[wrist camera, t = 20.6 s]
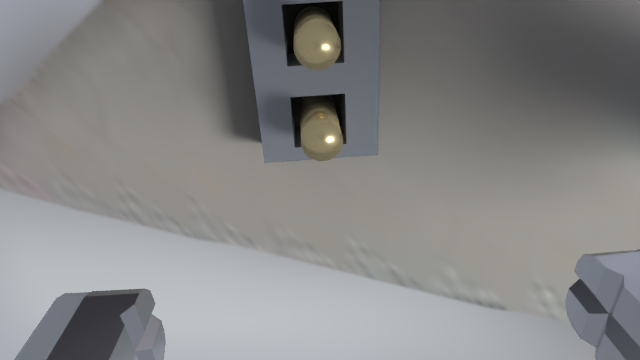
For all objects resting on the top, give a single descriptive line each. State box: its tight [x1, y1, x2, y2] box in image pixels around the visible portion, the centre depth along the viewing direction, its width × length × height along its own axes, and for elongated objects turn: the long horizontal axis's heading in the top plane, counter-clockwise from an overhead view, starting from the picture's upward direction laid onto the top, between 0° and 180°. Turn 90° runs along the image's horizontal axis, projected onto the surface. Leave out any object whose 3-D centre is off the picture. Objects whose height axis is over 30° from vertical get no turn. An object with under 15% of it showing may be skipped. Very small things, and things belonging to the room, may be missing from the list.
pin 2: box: [300, 95, 343, 161], centre depth 35 cm, size 3×3×8 cm
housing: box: [243, 0, 380, 163], centre depth 35 cm, size 14×10×4 cm
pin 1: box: [294, 6, 341, 70], centre depth 32 cm, size 3×3×8 cm
